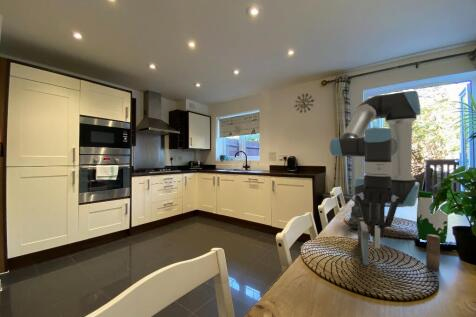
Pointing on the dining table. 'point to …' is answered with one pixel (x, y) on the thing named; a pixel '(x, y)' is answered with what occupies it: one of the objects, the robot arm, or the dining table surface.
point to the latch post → (433, 252)
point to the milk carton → (430, 218)
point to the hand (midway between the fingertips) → (376, 246)
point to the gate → (364, 242)
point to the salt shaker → (354, 219)
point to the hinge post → (359, 230)
